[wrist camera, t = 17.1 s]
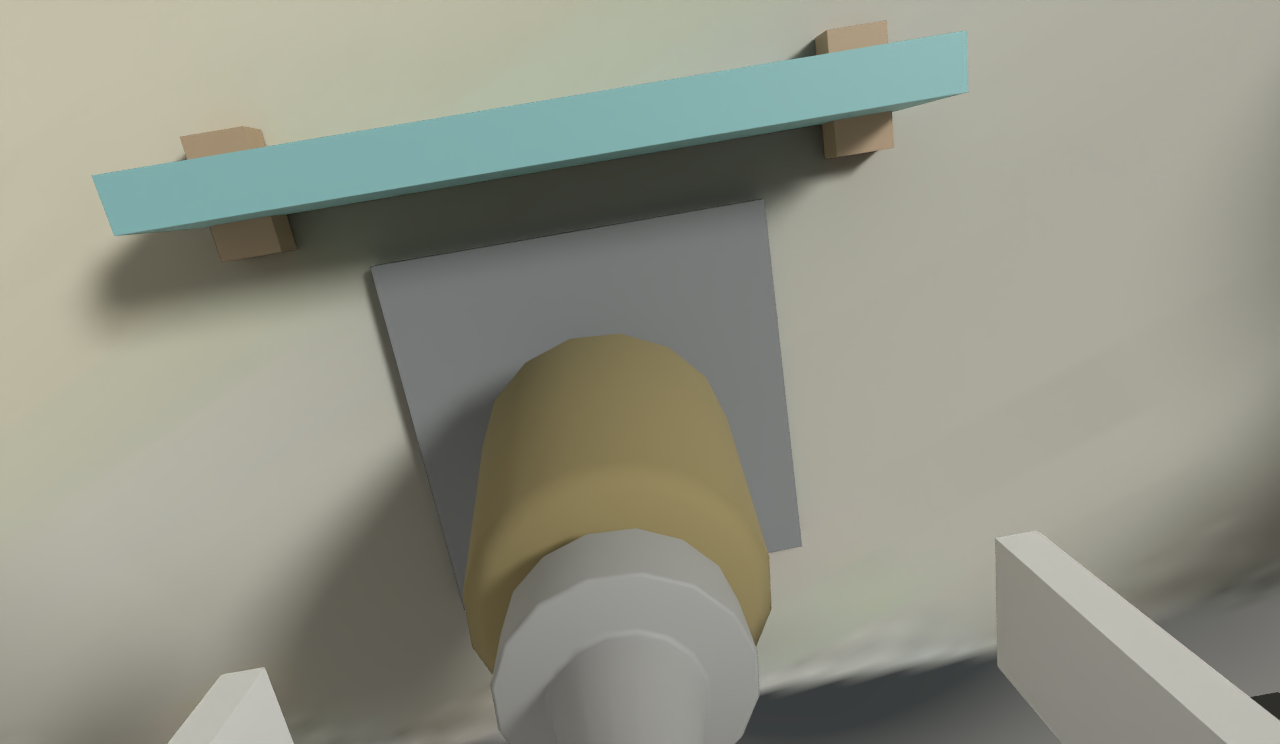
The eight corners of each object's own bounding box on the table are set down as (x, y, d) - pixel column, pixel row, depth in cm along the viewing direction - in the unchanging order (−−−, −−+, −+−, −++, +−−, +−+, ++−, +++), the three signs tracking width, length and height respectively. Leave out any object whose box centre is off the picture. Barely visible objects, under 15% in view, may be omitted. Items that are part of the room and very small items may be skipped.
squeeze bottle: (679, 284, 24) (918, 526, 7) (733, 479, 26) (1020, 1043, 9) (466, 349, 24) (151, 760, 7) (538, 539, 26) (443, 1217, 9)
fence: (186, 142, 22) (73, 128, 17) (885, 26, 23) (965, -18, 18) (225, 261, 23) (130, 279, 18) (892, 147, 24) (969, 136, 19)
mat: (375, 265, 24) (369, 267, 23) (759, 199, 24) (764, 199, 23) (466, 601, 27) (464, 609, 27) (797, 538, 28) (801, 546, 27)
